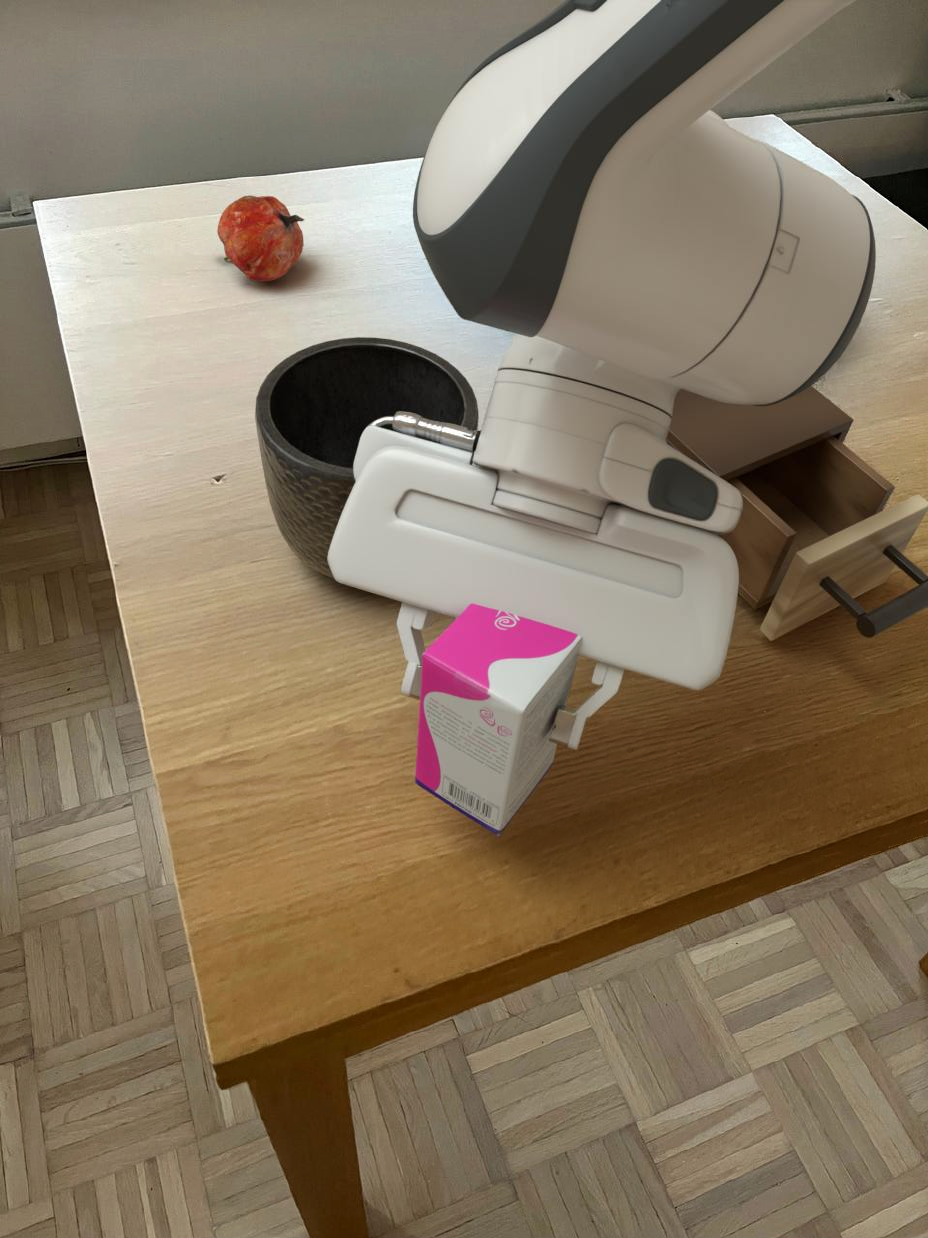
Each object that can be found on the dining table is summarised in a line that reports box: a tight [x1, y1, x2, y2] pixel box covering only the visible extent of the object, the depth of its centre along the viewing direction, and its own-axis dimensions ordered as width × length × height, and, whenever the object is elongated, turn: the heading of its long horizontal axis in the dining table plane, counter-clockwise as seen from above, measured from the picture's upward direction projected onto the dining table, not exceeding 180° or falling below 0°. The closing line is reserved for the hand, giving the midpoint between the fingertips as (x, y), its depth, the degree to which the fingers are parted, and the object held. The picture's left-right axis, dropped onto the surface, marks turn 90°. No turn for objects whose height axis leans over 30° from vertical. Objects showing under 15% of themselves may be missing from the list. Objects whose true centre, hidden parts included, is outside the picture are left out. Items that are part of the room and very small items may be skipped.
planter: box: [254, 336, 479, 580], centre depth 68 cm, size 14×14×13 cm
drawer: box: [718, 436, 928, 642], centre depth 71 cm, size 18×11×8 cm, turn 32°
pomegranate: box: [216, 194, 306, 282], centre depth 92 cm, size 7×7×10 cm
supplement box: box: [414, 603, 582, 837], centre depth 52 cm, size 6×6×12 cm
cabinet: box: [666, 385, 854, 481], centre depth 76 cm, size 15×13×10 cm
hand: (489, 720), depth 52 cm, fingers closed on supplement box, 6 cm apart
